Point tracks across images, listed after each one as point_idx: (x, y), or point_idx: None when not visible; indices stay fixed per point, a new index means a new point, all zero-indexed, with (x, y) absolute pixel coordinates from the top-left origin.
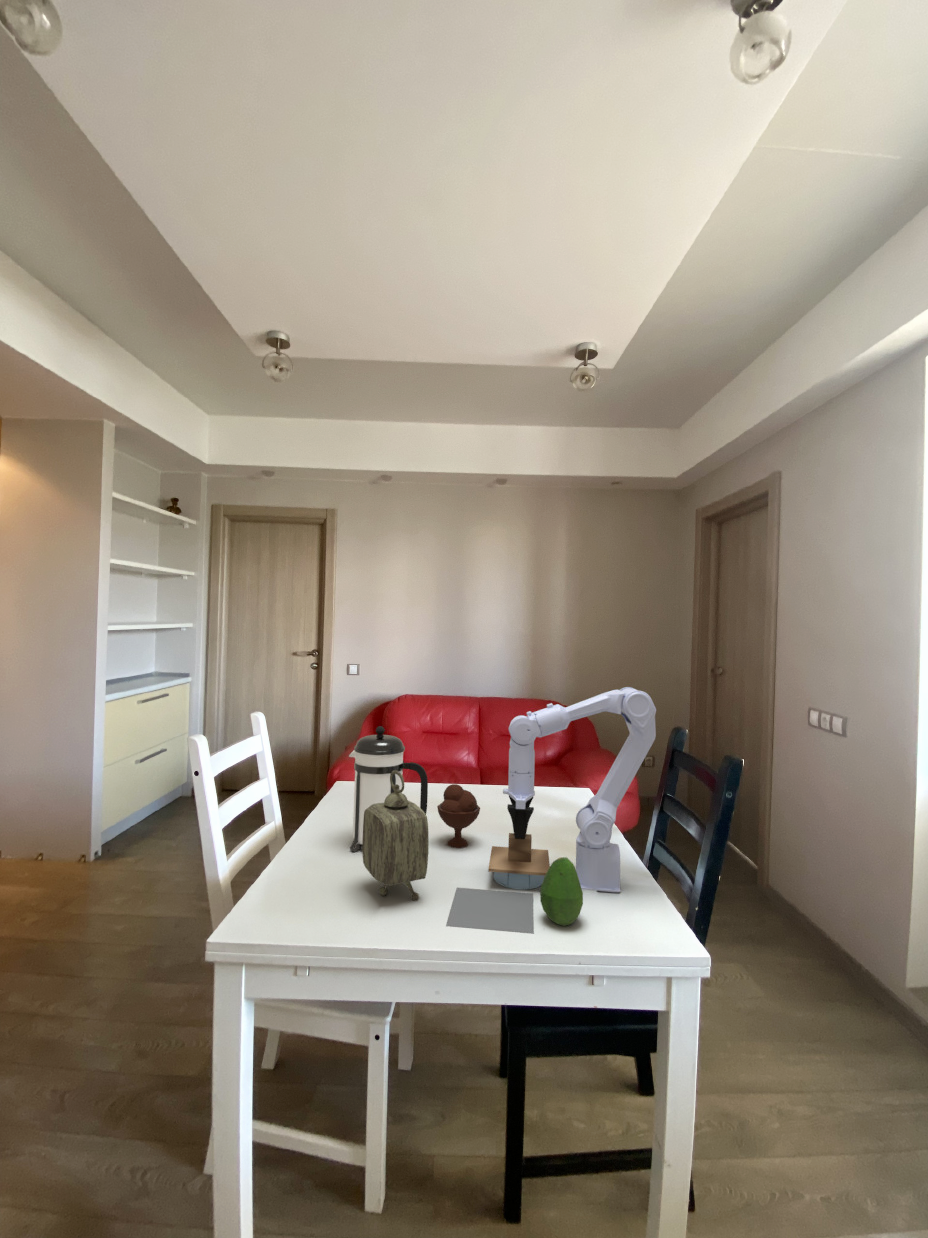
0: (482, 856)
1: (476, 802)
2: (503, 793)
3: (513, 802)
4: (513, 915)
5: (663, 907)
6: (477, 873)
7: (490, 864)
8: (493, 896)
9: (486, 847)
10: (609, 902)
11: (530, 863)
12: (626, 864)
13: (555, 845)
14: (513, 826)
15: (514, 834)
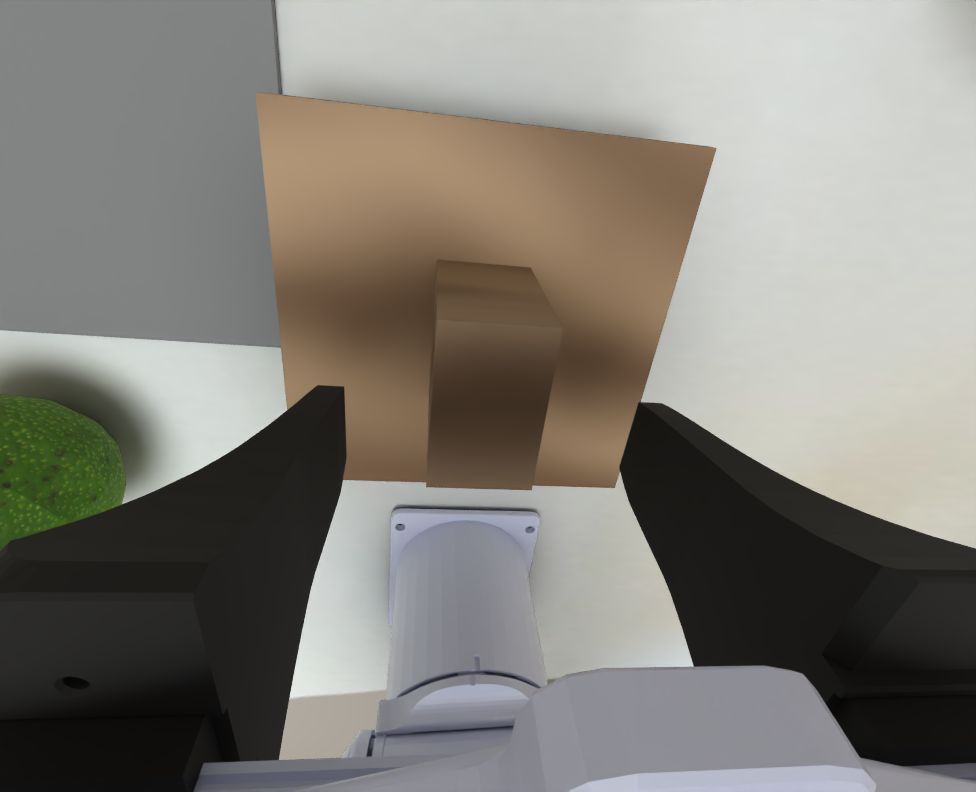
0: (823, 76)
1: None
2: (549, 692)
3: (788, 555)
4: (2, 235)
5: (319, 692)
6: (554, 24)
7: (345, 116)
8: (196, 127)
9: (960, 114)
10: (315, 587)
11: (411, 393)
12: (627, 656)
13: (856, 477)
14: (250, 440)
15: (299, 400)
